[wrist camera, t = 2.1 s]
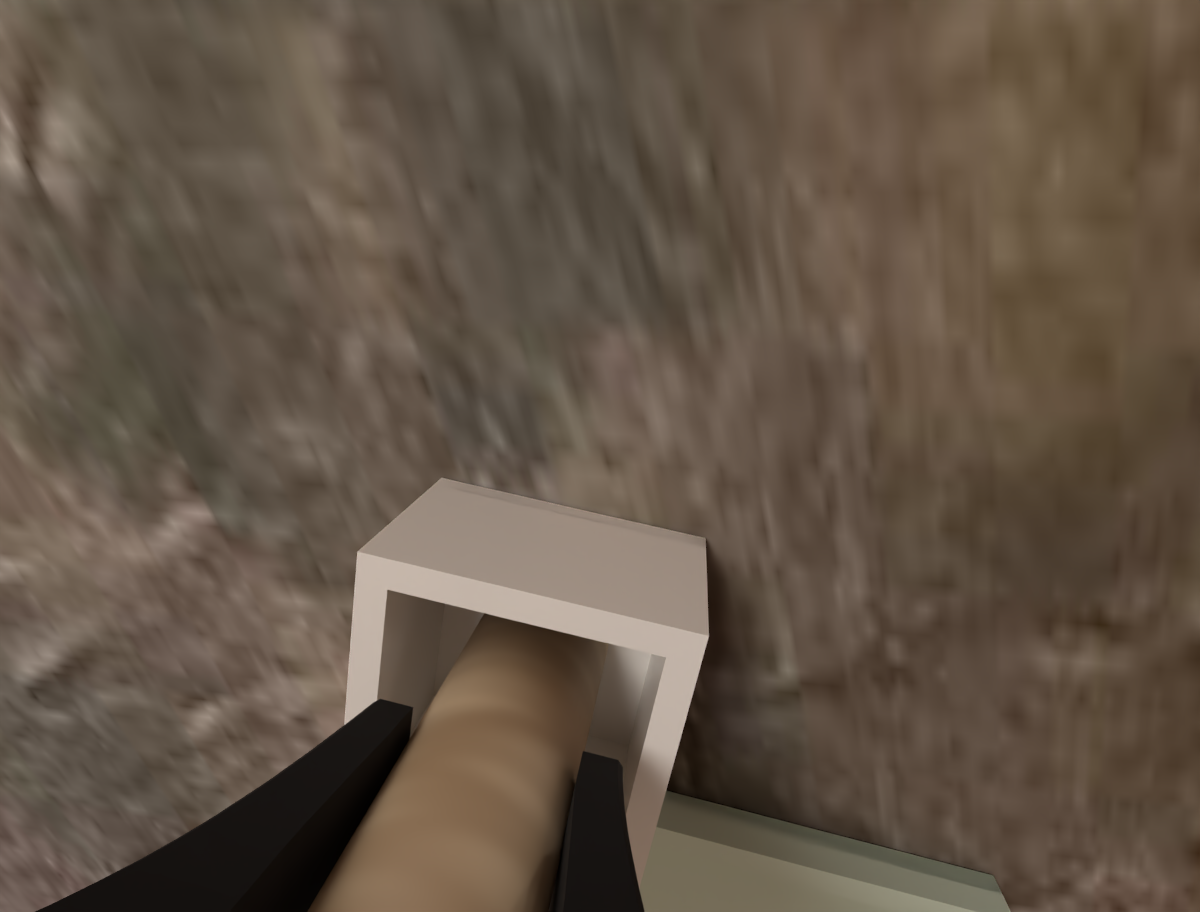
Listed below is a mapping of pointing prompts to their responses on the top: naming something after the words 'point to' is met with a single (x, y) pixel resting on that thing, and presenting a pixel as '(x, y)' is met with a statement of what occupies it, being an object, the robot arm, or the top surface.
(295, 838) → the robot arm
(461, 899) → the dowel
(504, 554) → the open box
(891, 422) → the top surface
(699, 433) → the top surface
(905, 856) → the tray
